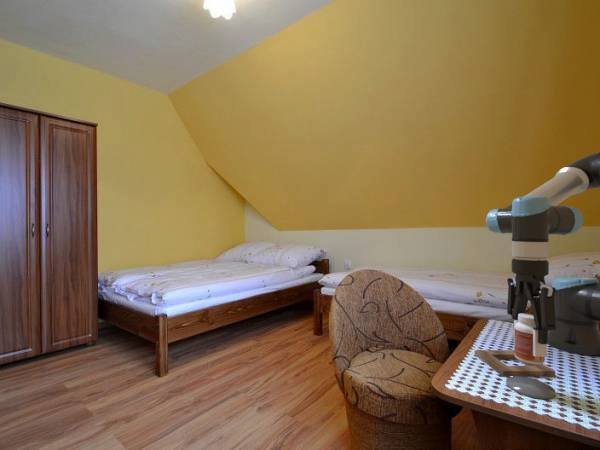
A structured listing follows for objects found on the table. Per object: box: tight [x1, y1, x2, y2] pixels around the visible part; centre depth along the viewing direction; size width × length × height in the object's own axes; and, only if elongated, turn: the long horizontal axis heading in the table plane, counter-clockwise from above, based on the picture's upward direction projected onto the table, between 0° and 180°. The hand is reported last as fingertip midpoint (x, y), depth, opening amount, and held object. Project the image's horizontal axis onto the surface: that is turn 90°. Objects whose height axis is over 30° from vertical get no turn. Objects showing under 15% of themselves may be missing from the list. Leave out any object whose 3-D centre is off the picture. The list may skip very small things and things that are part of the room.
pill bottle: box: [513, 312, 546, 365], centre depth 78 cm, size 6×6×11 cm
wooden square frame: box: [474, 349, 556, 378], centre depth 91 cm, size 14×14×2 cm
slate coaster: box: [505, 376, 557, 400], centre depth 78 cm, size 10×10×1 cm
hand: (529, 350), depth 78 cm, fingers closed on pill bottle, 6 cm apart
